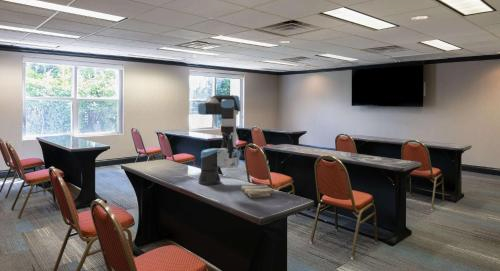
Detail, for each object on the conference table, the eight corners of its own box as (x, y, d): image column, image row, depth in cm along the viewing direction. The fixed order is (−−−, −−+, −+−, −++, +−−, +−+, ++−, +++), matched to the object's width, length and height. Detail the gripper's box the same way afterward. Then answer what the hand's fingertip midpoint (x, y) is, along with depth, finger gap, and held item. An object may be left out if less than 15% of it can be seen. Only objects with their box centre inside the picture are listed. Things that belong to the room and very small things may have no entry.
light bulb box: (237, 166, 200) (237, 149, 199) (230, 168, 195) (230, 150, 194) (223, 164, 207) (224, 147, 205) (216, 166, 201) (216, 148, 200)
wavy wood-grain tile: (240, 191, 210) (240, 185, 209) (264, 190, 215) (264, 183, 214) (248, 199, 194) (249, 192, 194) (274, 197, 199) (274, 190, 199)
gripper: (216, 124, 208) (216, 158, 211) (226, 127, 186) (226, 165, 188) (228, 124, 211) (228, 158, 213) (239, 127, 188) (239, 165, 190)
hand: (227, 161), depth 200 cm, fingers closed on light bulb box, 12 cm apart
